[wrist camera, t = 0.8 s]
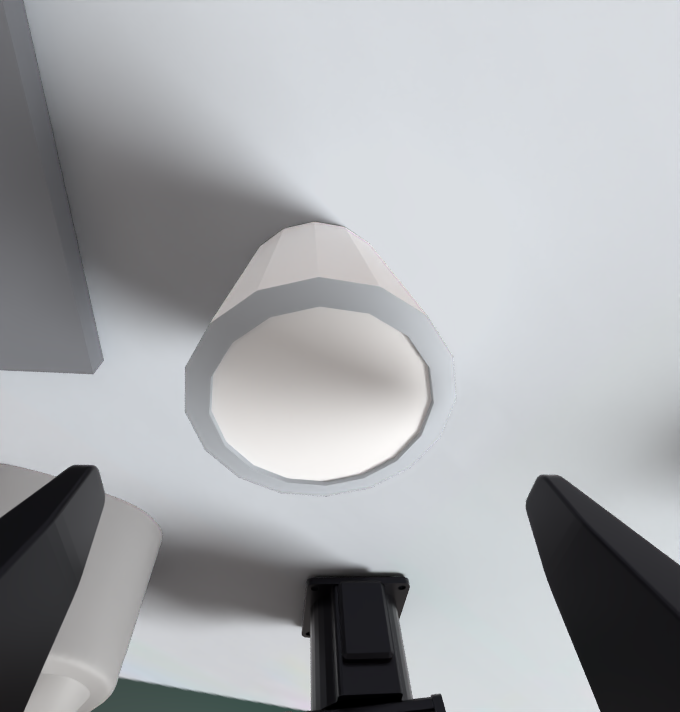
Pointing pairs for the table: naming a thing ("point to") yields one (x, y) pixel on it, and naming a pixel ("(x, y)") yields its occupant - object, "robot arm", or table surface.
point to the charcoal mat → (36, 225)
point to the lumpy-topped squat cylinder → (92, 600)
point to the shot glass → (319, 369)
